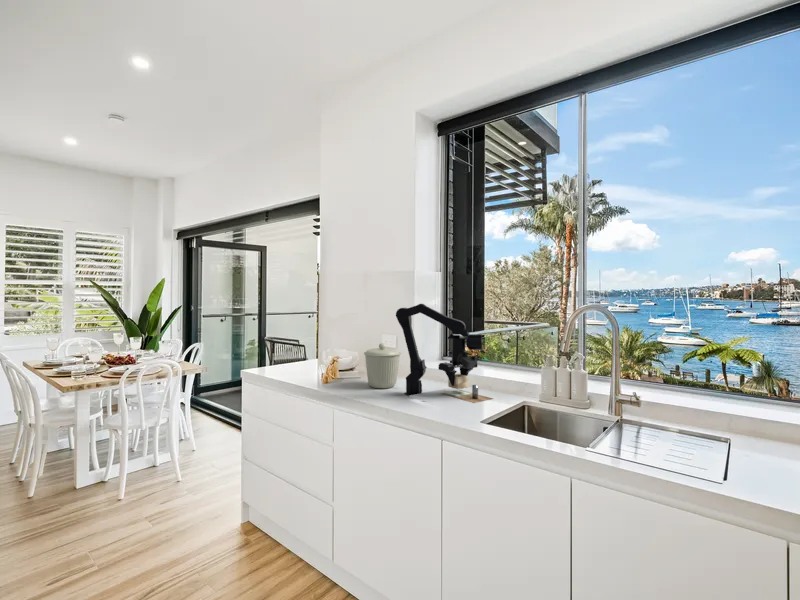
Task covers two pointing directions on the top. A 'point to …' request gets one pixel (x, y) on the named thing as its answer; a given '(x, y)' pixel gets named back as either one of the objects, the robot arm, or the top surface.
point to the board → (466, 396)
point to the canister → (382, 366)
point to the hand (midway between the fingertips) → (458, 384)
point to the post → (474, 391)
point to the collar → (459, 382)
